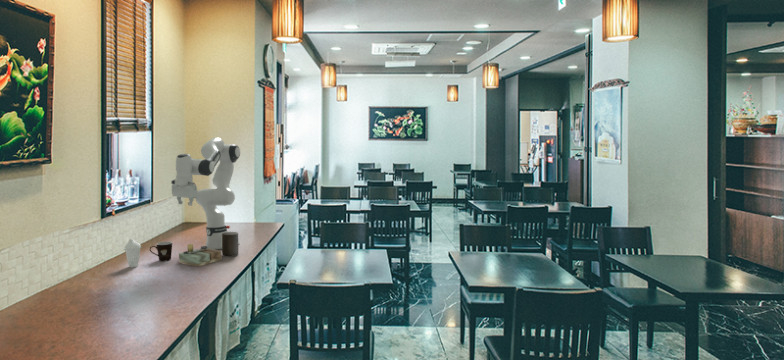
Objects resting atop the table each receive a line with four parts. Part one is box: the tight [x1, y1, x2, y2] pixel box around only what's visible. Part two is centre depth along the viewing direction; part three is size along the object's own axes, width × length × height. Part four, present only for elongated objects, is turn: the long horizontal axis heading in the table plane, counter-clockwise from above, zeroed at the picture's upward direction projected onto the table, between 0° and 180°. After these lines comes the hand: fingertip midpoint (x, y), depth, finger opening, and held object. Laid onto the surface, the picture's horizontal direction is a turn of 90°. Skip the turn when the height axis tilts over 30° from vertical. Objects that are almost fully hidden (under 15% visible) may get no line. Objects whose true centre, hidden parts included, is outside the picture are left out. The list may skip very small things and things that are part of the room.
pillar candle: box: [221, 231, 239, 258], centre depth 289 cm, size 10×10×15 cm
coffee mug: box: [149, 241, 173, 262], centre depth 277 cm, size 12×9×10 cm
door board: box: [178, 248, 222, 268], centre depth 274 cm, size 17×16×7 cm
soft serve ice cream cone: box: [123, 238, 142, 268], centre depth 262 cm, size 8×8×16 cm
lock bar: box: [187, 243, 208, 254], centre depth 274 cm, size 12×4×5 cm, turn 148°
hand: (185, 204), depth 275 cm, fingers open, 8 cm apart
